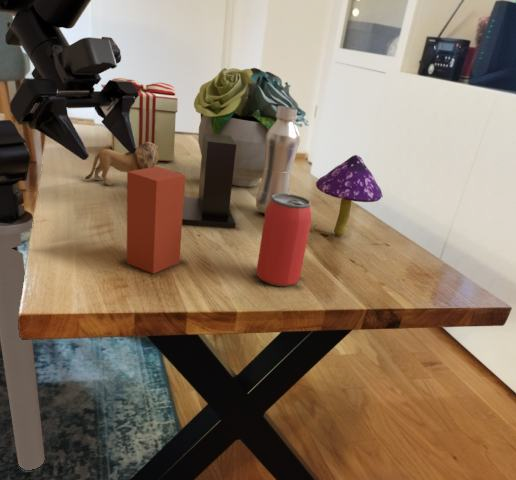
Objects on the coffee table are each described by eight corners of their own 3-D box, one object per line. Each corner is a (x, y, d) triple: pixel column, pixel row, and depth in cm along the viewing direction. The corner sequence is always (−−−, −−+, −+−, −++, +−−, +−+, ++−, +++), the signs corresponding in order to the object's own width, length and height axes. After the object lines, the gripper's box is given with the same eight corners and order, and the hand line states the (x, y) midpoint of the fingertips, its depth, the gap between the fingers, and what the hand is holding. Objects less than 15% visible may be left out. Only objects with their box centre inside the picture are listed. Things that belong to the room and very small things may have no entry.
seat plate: (134, 221, 89) (135, 136, 82) (135, 197, 100) (136, 121, 93) (235, 228, 93) (245, 148, 86) (225, 205, 104) (233, 133, 97)
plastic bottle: (257, 206, 107) (272, 103, 96) (289, 213, 106) (307, 109, 96) (251, 215, 101) (266, 106, 91) (284, 221, 100) (303, 112, 90)
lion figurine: (156, 184, 111) (158, 140, 106) (158, 190, 106) (159, 146, 102) (85, 178, 107) (84, 132, 102) (84, 185, 102) (82, 138, 98)
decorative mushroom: (300, 238, 94) (317, 153, 86) (312, 220, 104) (328, 143, 96) (367, 253, 92) (390, 168, 84) (372, 233, 102) (393, 156, 94)
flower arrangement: (253, 168, 137) (267, 66, 124) (310, 196, 120) (333, 81, 107) (169, 168, 124) (174, 54, 111) (219, 200, 107) (232, 69, 94)
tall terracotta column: (126, 263, 73) (127, 171, 67) (154, 252, 78) (157, 166, 71) (153, 274, 72) (156, 180, 65) (179, 262, 76) (185, 174, 69)
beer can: (285, 292, 72) (301, 210, 66) (247, 277, 75) (258, 196, 69) (306, 279, 78) (322, 201, 71) (269, 265, 80) (282, 189, 74)
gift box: (160, 146, 144) (163, 78, 135) (179, 163, 130) (183, 89, 121) (98, 142, 137) (97, 71, 128) (111, 160, 123) (110, 80, 114)
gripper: (14, -1, 57) (88, 122, 59) (129, 17, 72) (187, 116, 73) (-21, 66, 64) (47, 175, 66) (91, 70, 79) (144, 160, 80)
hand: (111, 154), depth 71 cm, fingers open, 9 cm apart
